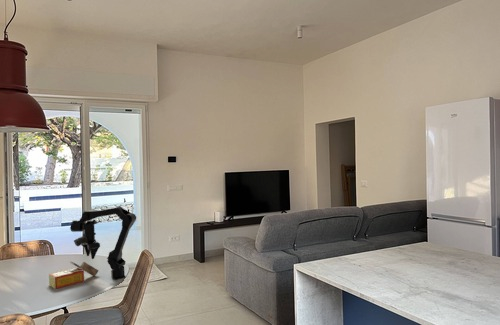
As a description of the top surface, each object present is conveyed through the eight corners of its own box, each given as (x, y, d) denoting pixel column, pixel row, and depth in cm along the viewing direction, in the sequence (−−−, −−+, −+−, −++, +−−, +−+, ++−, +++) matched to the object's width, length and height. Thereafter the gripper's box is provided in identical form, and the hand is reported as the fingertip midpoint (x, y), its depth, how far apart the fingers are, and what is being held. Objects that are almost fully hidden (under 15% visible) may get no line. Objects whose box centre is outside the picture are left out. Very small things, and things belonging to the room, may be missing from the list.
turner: (91, 275, 226) (95, 269, 228) (95, 277, 222) (99, 270, 223) (69, 262, 218) (74, 256, 220) (73, 264, 213) (77, 257, 215)
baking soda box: (48, 273, 210) (77, 267, 222) (49, 285, 210) (78, 278, 222) (55, 277, 203) (84, 270, 215) (55, 289, 204) (84, 281, 215)
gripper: (70, 231, 223) (71, 257, 224) (79, 235, 209) (80, 263, 209) (89, 228, 231) (90, 253, 231) (99, 232, 216) (100, 259, 217)
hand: (90, 257), depth 222 cm, fingers open, 9 cm apart
